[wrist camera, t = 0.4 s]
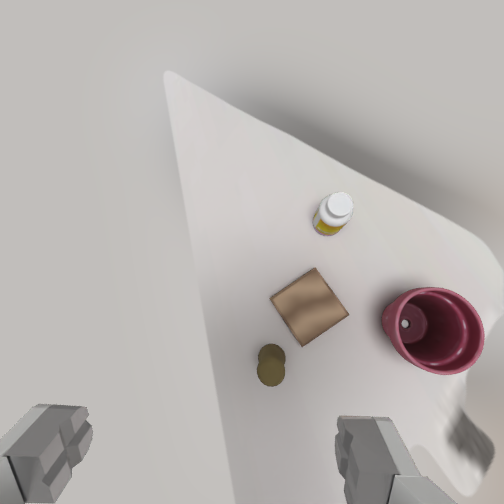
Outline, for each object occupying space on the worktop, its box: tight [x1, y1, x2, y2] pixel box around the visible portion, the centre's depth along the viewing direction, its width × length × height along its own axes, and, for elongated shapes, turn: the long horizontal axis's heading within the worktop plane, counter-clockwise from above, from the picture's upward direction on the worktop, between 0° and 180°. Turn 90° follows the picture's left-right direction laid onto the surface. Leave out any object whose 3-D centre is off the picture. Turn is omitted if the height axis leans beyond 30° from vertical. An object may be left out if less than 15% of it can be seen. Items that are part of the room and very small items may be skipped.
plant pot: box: [382, 287, 484, 375], centre depth 49 cm, size 14×14×13 cm
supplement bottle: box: [313, 192, 353, 236], centre depth 54 cm, size 7×7×13 cm
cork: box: [257, 344, 285, 387], centre depth 51 cm, size 6×6×11 cm
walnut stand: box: [269, 268, 349, 347], centre depth 56 cm, size 12×12×4 cm
